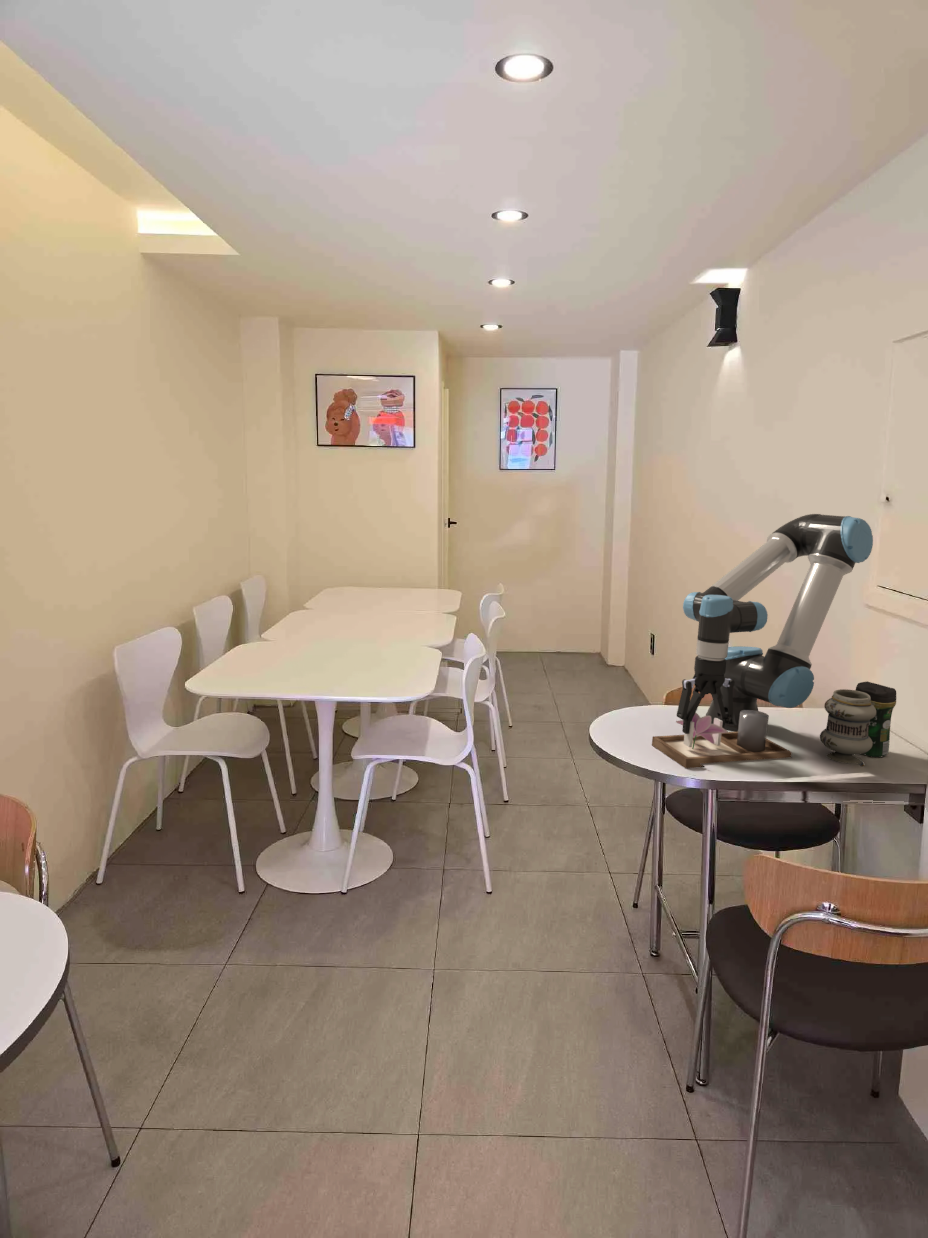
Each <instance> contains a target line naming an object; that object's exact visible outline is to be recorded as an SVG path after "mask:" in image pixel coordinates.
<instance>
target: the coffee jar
mask: <svg viewBox="0 0 928 1238" xmlns="http://www.w3.org/2000/svg"><path fill="white" fill-rule="evenodd" d="M855 690H856V691H860V692H864V693H867V694H868V695H870V697H871V700H870V701H871V704H872V705H873V706H874V707H875V709H876V715H875V717H874V718H872V719H870V722H869V730H868V736H869V737H870V738H871V740H872V748H871V749H870V750H869V751H868V752H866V753H863V754H862V755H864V754H865V756H867V757H871V756H872V758H882V757H881V756H883V757H885V756H887V755H889V752H890V735H891V723H892V722H891V721H892V716H893V711H894V709H895V707H896V705H897V690H896V689H895V688H893V687H890V686H886V685H882V684H879V683H874V682H871V681H867V680H866V681H862V682H859V683H857V685H856V686H855Z"/></svg>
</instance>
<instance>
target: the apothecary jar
mask: <svg viewBox="0 0 928 1238" xmlns="http://www.w3.org/2000/svg"><path fill="white" fill-rule="evenodd" d="M870 700H871V697H870V695H868V694H867V693H864V692H860V691H856V689H854V690H853V689H847V688H845V689H836V690H834V691H833V693H832V696H831V697H830V698H828V699H827V700H826V701H825V703H824V710H825V712H827V714H828V716H827V723H826V728H825V729H823V730H822V731H821V732H820V734H819V740H820V742H821V744H823V745H824V747H825V748H827V749H829V750H830V751H831V752H828V753H826V755H825V756H826V757H827V758H828V759H830V760H832V761H834V762H838V763H843V764H856V765H858V766H860V767H863V766H864V767H865V763H864V762H863V761H862V759H860V758H858V757H857V756H858V755H864V754H863V753H866V752H868V751H869V750H870V749H871V748H872V740H871V738H870V737H869V736H868V730H869V722H870V719H872V718H874V717H875V715H876V709H875V707H874V706H873V705H872V704H871V701H870Z"/></svg>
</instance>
